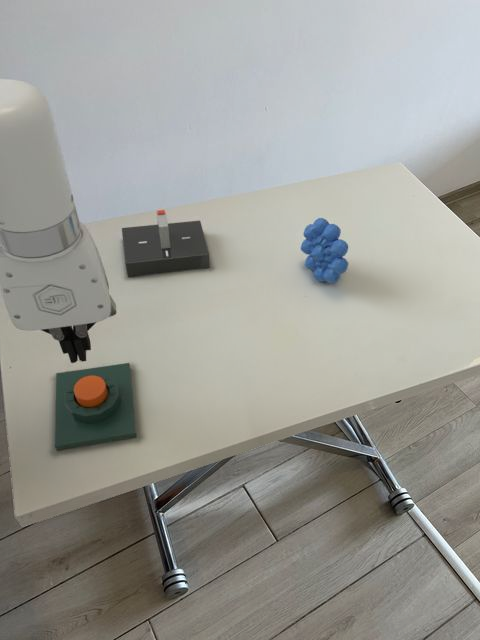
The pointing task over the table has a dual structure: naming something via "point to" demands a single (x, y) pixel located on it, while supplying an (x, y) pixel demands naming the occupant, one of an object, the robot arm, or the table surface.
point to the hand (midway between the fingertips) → (78, 353)
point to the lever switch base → (152, 259)
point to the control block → (94, 409)
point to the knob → (163, 229)
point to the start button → (90, 391)
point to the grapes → (324, 251)
